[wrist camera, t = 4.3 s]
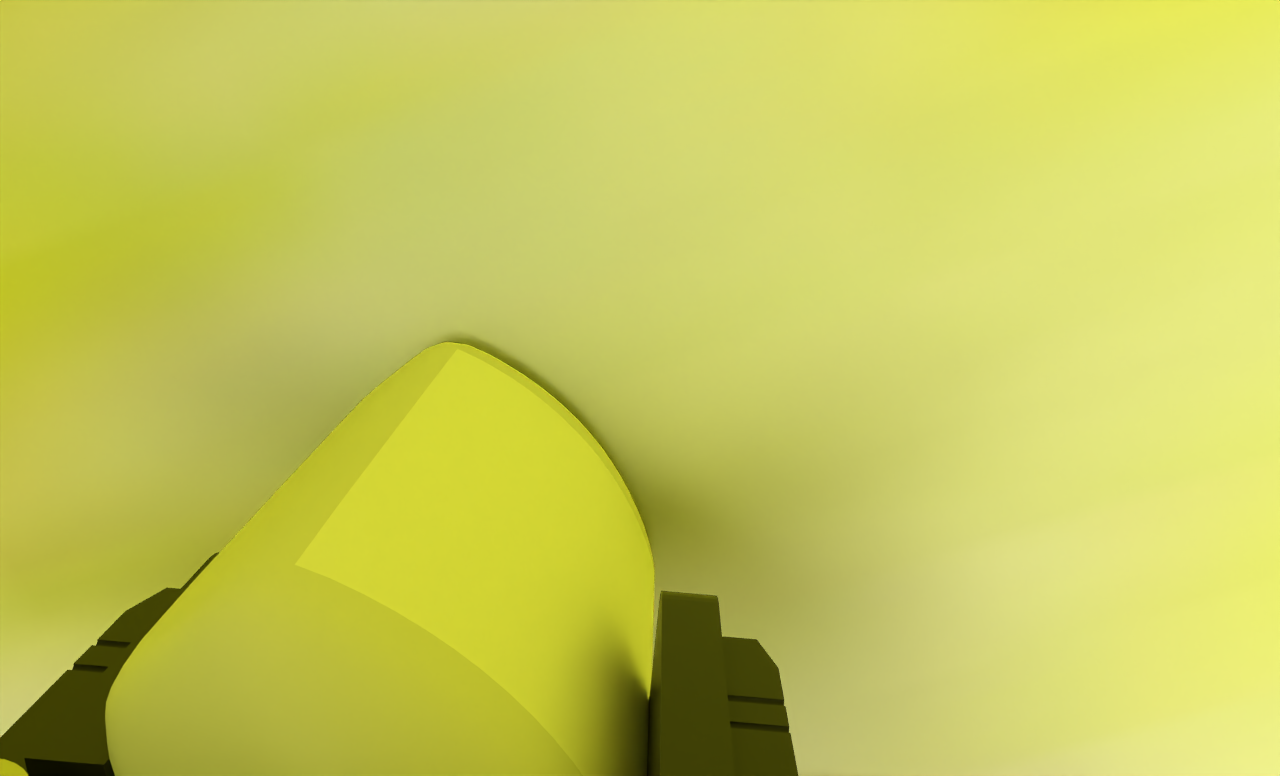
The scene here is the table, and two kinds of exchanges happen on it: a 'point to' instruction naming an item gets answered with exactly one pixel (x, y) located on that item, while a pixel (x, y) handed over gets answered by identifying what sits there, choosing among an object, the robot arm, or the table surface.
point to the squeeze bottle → (413, 603)
